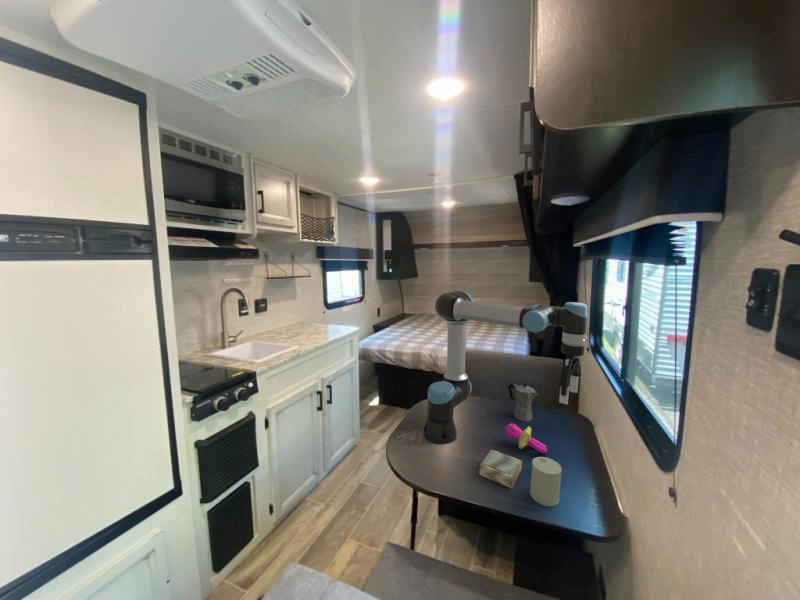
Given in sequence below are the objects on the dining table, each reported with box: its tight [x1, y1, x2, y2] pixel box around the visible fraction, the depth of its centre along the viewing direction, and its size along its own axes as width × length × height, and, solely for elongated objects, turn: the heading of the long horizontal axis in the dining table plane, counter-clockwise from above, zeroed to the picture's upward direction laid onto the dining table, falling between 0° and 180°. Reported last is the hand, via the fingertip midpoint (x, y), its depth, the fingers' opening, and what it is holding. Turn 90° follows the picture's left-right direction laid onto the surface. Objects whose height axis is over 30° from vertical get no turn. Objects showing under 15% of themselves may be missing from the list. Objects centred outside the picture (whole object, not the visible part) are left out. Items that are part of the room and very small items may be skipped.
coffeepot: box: [507, 382, 539, 422], centre depth 162 cm, size 15×9×18 cm, turn 44°
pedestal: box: [478, 449, 523, 489], centre depth 120 cm, size 12×12×4 cm
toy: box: [504, 423, 548, 454], centre depth 136 cm, size 10×18×10 cm, turn 56°
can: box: [529, 456, 563, 507], centre depth 108 cm, size 9×9×12 cm
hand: (568, 397), depth 123 cm, fingers open, 13 cm apart
